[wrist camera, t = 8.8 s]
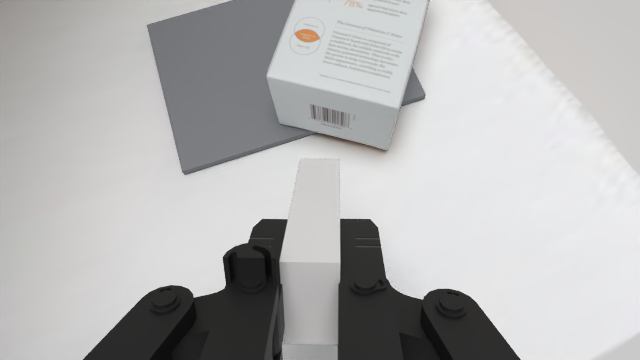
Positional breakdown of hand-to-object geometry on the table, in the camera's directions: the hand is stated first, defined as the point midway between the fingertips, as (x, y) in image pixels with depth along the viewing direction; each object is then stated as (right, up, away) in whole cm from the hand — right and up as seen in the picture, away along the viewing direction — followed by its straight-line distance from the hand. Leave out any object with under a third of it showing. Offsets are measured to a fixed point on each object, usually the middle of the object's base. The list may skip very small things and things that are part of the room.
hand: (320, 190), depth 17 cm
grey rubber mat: (-3, +9, +16) cm, 19 cm away
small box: (+1, +4, +10) cm, 11 cm away
